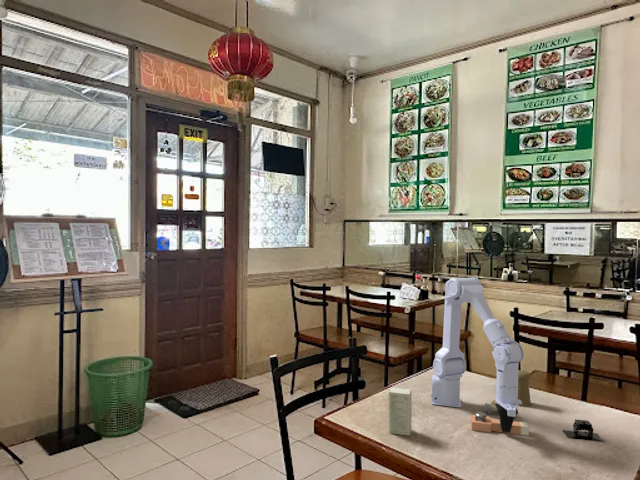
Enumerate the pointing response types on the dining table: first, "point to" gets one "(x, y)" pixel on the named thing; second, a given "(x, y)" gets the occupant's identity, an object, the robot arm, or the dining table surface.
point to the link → (498, 426)
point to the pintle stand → (485, 411)
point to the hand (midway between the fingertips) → (505, 431)
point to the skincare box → (400, 411)
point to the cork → (523, 388)
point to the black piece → (580, 434)
